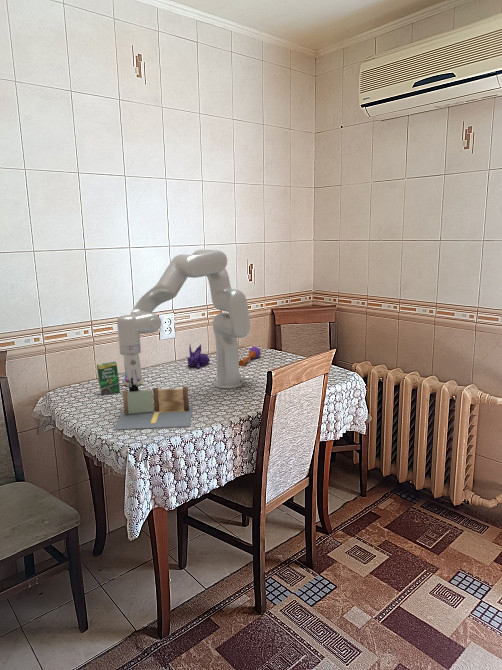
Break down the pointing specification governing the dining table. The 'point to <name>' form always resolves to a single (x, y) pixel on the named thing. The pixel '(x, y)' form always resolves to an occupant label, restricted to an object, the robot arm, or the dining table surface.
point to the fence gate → (138, 401)
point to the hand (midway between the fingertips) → (134, 396)
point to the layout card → (154, 420)
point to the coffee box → (108, 378)
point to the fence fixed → (171, 399)
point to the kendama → (250, 355)
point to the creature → (197, 358)
